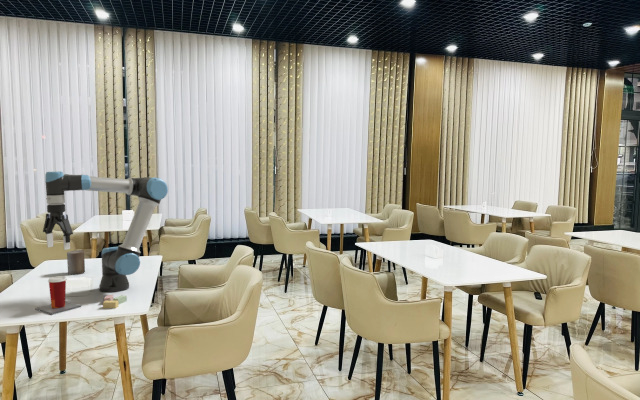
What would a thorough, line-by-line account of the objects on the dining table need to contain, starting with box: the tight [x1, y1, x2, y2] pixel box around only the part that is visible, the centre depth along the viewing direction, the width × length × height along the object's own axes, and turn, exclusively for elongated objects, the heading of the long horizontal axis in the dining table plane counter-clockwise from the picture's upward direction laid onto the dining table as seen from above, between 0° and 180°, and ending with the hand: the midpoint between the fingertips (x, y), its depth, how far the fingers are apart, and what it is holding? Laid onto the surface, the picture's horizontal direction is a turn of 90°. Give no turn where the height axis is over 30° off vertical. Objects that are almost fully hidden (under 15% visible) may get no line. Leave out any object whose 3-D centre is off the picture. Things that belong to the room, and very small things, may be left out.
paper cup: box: [47, 275, 67, 308], centre depth 223 cm, size 8×8×14 cm
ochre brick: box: [102, 300, 119, 309], centre depth 226 cm, size 6×3×3 cm, turn 90°
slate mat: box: [34, 300, 82, 316], centre depth 224 cm, size 14×14×1 cm
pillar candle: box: [66, 249, 86, 275], centre depth 295 cm, size 10×10×15 cm
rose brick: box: [103, 294, 114, 302], centre depth 234 cm, size 6×3×3 cm, turn 11°
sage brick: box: [113, 294, 128, 306], centre depth 233 cm, size 6×3×3 cm, turn 163°
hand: (58, 248), depth 225 cm, fingers open, 13 cm apart
